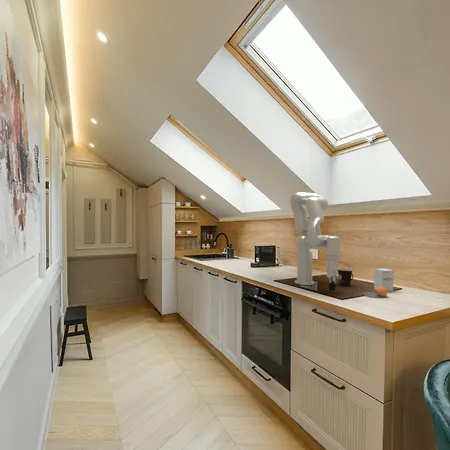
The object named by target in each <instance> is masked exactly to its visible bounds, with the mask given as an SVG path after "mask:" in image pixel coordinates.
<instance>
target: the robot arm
mask: <svg viewBox="0 0 450 450" xmlns="http://www.w3.org/2000/svg"><path fill="white" fill-rule="evenodd" d="M289 204H290V207H291V211H292V213H293V217H294V218H293V219H294V224H295V229H296V231H297V233H299V234H301V235H299V236H298V237H296V240H295V244H296V252H297V253H296V254H297V255H296V256H297V257H296V258H297V264H296V265H297V267H296V271H297V273H296V279H295V280H294V283H295V284H297V285H301V286H314V285H315V281H314V280H313V254H312V252H311V250H319V249H325V261H327V263H326V274H325V275H326V277H327V278H328V279H329V282H328V290H329V291H334V292H335V291H336V286H337V285H336V279H339V276H338V269H339V267H338V266H339V263H338V262H340V261H341V238H340V237H339V236H338V235H337V236H334V235H329V234H328V235H325V234H322V230H321V225H320V224H321V223H323V222H324V220H325V216H324V215H325V214H324V212H323V211H326V210H327V209H328V207H329V203H328V200H327V198H325V196H322V195H320V194H318V193H315V192H307V191H306V192H305V191H303V192H302V191H298V192H294V193H292V195H291V197H290V199H289ZM303 206H305V208H306V209H305V208H304V207H303ZM308 217H309V218H308Z"/></svg>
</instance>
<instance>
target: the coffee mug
mask: <svg viewBox="0 0 450 450" xmlns="http://www.w3.org/2000/svg"><path fill="white" fill-rule="evenodd" d="M353 279H354V274H353V269H351V268H338V284H339V286H342V287H350V286H351V283H352V280H353Z"/></svg>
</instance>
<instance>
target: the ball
mask: <svg viewBox="0 0 450 450" xmlns="http://www.w3.org/2000/svg"><path fill="white" fill-rule="evenodd" d="M375 293H377V294H378V295H379V296H381V297H384V296H386V295H387V296H388V291H387V289H386V288H385V287H383V286H380V287H378V288H377V289H376V290H375Z"/></svg>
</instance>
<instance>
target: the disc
mask: <svg viewBox="0 0 450 450" xmlns="http://www.w3.org/2000/svg"><path fill="white" fill-rule="evenodd" d="M361 293H363V294H364V296H363V297H367V298H373V299H387V298H388V294H387V295H386V296H384V297H381V296H379V295H378V294H377V293H376V291H375V292H373V291H363V292H361Z"/></svg>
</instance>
